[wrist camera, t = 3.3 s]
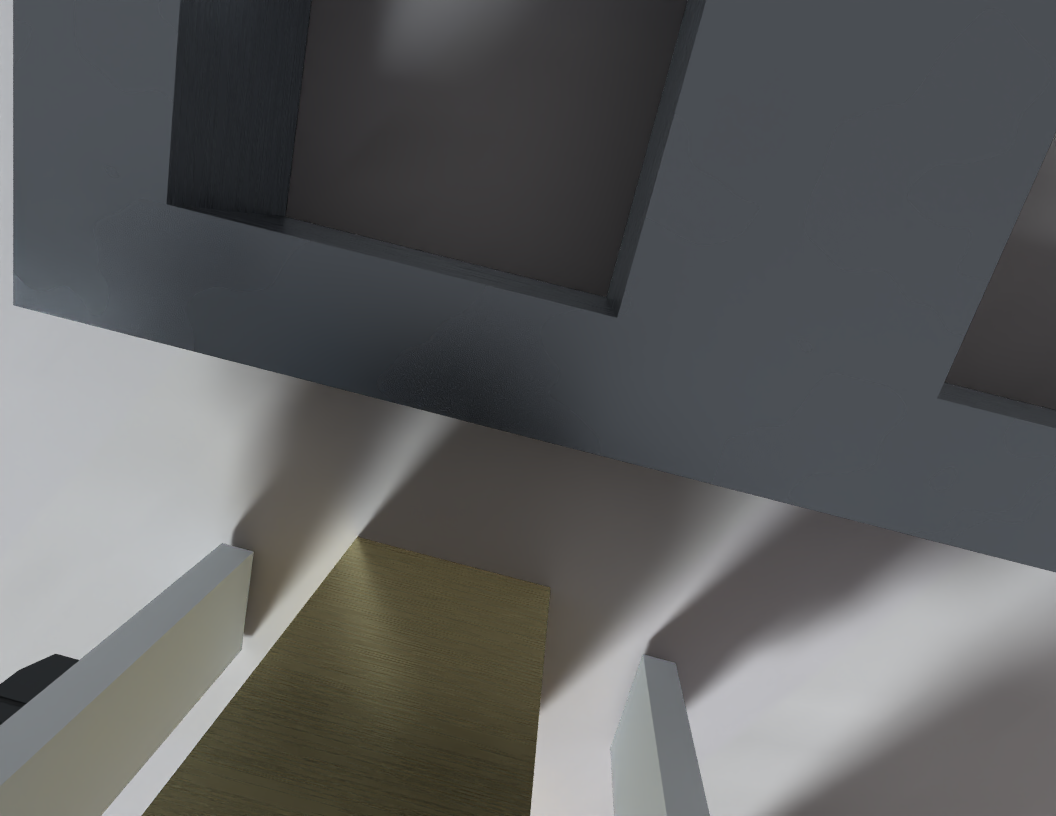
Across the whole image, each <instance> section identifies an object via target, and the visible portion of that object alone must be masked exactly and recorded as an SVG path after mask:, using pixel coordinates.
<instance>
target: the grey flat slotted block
mask: <svg viewBox="0 0 1056 816" xmlns="http://www.w3.org/2000/svg"><path fill="white" fill-rule="evenodd" d="M310 7H311V0H13V305H15V306H19V307H23V308H27V309H31V310H34V311H38V312H42V313H46V314H50V315H54V316H58V317H62V318H66V319H70V320H73V321H77V322H81V323H85V324H89V325H93V326H97V327H101V328H105V329H109V330H112V331H116V332H120V333H124V334H128V335H132V336H136V337H140V338H144V339H148V340H151V341H155V342H159V343H163V344H167V345H171V346H175V347H179V348H183V349H187V350H190V351H194V352H198V353H202V354H206V355H210V356H214V357H218V358H222V359H226V360H229V361H233V362H237V363H241V364H245V365H249V366H253V367H257V368H261V369H265V370H268V371H272V372H276V373H280V374H284V375H288V376H292V377H296V378H300V379H304V380H307V381H311V382H315V383H319V384H323V385H327V386H331V387H335V388H339V389H343V390H347V391H350V392H354V393H358V394H362V395H366V396H370V397H374V398H378V399H382V400H386V401H389V402H393V403H397V404H401V405H405V406H409V407H413V408H417V409H421V410H425V411H428V412H432V413H436V414H440V415H444V416H448V417H452V418H456V419H460V420H464V421H467V422H471V423H475V424H479V425H483V426H487V427H491V428H495V429H499V430H503V431H506V432H510V433H514V434H518V435H522V436H526V437H530V438H534V439H538V440H542V441H545V442H549V443H553V444H557V445H561V446H565V447H569V448H573V449H577V450H581V451H584V452H588V453H592V454H596V455H600V456H604V457H608V458H612V459H616V460H620V461H623V462H627V463H631V464H635V465H639V466H643V467H647V468H651V469H655V470H659V471H662V472H666V473H670V474H674V475H678V476H682V477H686V478H690V479H694V480H698V481H701V482H705V483H709V484H713V485H717V486H721V487H725V488H729V489H733V490H737V491H740V492H744V493H748V494H752V495H756V496H760V497H764V498H768V499H772V500H776V501H779V502H783V503H787V504H791V505H795V506H799V507H803V508H807V509H811V510H815V511H818V512H822V513H826V514H830V515H834V516H838V517H842V518H846V519H850V520H854V521H857V522H861V523H865V524H869V525H873V526H877V527H881V528H885V529H889V530H893V531H897V532H900V533H904V534H908V535H912V536H916V537H920V538H924V539H928V540H932V541H936V542H939V543H943V544H947V545H951V546H955V547H959V548H963V549H967V550H971V551H975V552H978V553H982V554H986V555H990V556H994V557H998V558H1002V559H1006V560H1010V561H1014V562H1017V563H1021V564H1025V565H1029V566H1033V567H1037V568H1041V569H1045V570H1049V571H1053V572H1056V410H1053V409H1049V408H1045V407H1041V406H1037V405H1033V404H1029V403H1025V402H1021V401H1017V400H1013V399H1009V398H1005V397H1001V396H997V395H993V394H989V393H985V392H981V391H977V390H973V389H969V388H965V387H961V386H957V385H953V384H949V383H945V379H946V377H947V375H948V373H949V370H950V368H951V366H952V364H953V362H954V359H955V357H956V355H957V353H958V350H959V348H960V346H961V344H962V341H963V339H964V337H965V335H966V332H967V330H968V328H969V326H970V323H971V321H972V319H973V317H974V315H975V312H976V310H977V308H978V306H979V303H980V301H981V299H982V297H983V294H984V292H985V290H986V288H987V285H988V283H989V281H990V279H991V276H992V274H993V272H994V270H995V267H996V265H997V263H998V261H999V259H1000V256H1001V254H1002V252H1003V250H1004V247H1005V245H1006V243H1007V241H1008V238H1009V236H1010V234H1011V232H1012V229H1013V227H1014V225H1015V223H1016V220H1017V218H1018V216H1019V214H1020V212H1021V209H1022V207H1023V205H1024V203H1025V200H1026V198H1027V196H1028V194H1029V191H1030V189H1031V187H1032V185H1033V182H1034V180H1035V178H1036V176H1037V173H1038V171H1039V169H1040V167H1041V165H1042V162H1043V160H1044V158H1045V156H1046V153H1047V151H1048V149H1049V147H1050V144H1051V142H1052V140H1053V138H1054V135H1055V133H1056V0H688V1H687V5H686V9H685V12H684V16H683V20H682V23H681V27H680V31H679V34H678V38H677V42H676V45H675V49H674V53H673V56H672V60H671V63H670V67H669V71H668V74H667V78H666V82H665V85H664V89H663V93H662V96H661V100H660V104H659V107H658V111H657V115H656V118H655V122H654V126H653V129H652V133H651V137H650V140H649V144H648V148H647V151H646V155H645V159H644V162H643V166H642V170H641V173H640V177H639V181H638V184H637V188H636V192H635V195H634V199H633V202H632V206H631V210H630V213H629V217H628V221H627V224H626V228H625V232H624V235H623V239H622V243H621V246H620V250H619V254H618V257H617V261H616V265H615V268H614V272H613V276H612V279H611V283H610V287H609V290H608V294H607V297H603V296H599V295H595V294H591V293H587V292H583V291H579V290H575V289H571V288H567V287H563V286H559V285H555V284H551V283H547V282H543V281H539V280H535V279H531V278H527V277H523V276H519V275H515V274H511V273H507V272H503V271H499V270H495V269H491V268H487V267H483V266H479V265H475V264H471V263H467V262H463V261H459V260H455V259H452V258H448V257H444V256H440V255H436V254H432V253H428V252H424V251H420V250H416V249H412V248H408V247H404V246H400V245H396V244H392V243H388V242H384V241H380V240H376V239H372V238H368V237H364V236H360V235H356V234H352V233H348V232H344V231H340V230H336V229H332V228H328V227H324V226H320V225H316V224H312V223H308V222H304V221H300V220H296V219H292V218H288V217H285V214H286V206H287V198H288V189H289V181H290V173H291V165H292V156H293V148H294V140H295V131H296V123H297V115H298V106H299V98H300V90H301V82H302V73H303V65H304V57H305V48H306V40H307V32H308V24H309V15H310Z"/></svg>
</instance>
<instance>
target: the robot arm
mask: <svg viewBox="0 0 1056 816" xmlns="http://www.w3.org/2000/svg"><path fill="white" fill-rule="evenodd" d="M253 553H254V552H253V551H250V550H246V549H242V548H238V547H234V546H231V545H227V544H223V543H222V544H221V545H219V546H218V547H217V548H216V549H214V550H213V551H212V552H211V553H210V554H208V555H207V556H206V557H205V558H203V559H202V560H201V561H200V562H199V563H197V564H196V565H195V566H194V567H193V568H191V569H190V570H189V571H188V572H186V573H185V574H184V575H183V576H182V577H180V578H179V579H178V580H177V581H175V582H174V583H173V584H172V585H171V586H169V587H168V588H167V589H166V590H164V591H163V592H162V593H161V594H160V595H158V596H157V597H156V598H155V599H154V600H152V601H151V602H150V603H149V604H147V605H146V606H145V607H144V608H143V609H141V610H140V611H139V612H138V613H136V614H135V615H134V616H133V617H132V618H130V619H129V620H128V621H127V622H126V623H124V624H123V625H122V626H121V627H119V628H118V629H117V630H116V631H115V632H113V633H112V634H111V635H110V636H108V637H107V638H106V639H105V640H104V641H102V642H101V643H100V644H99V645H97V646H96V647H95V648H94V649H93V650H91V651H90V652H89V653H88V654H87V655H85V656H84V657H83V658H82V659H80V660H77V659H73V658H69V657H66V656H62V655H58V654H54V655H52V656H50V657H47V658H45V659H43V660H41V661H38V662H36V663H34V664H32V665H29V666H27V667H25V668H23V669H21V670H19V671H17V672H16V673H15V674H13V675H12V676H11V677H9V678H8V679H7V680H5V681H4V682H3V683H1V684H0V816H101V815H102V814H103V813H104V811H105V810H106V809H107V808H108V807H109V806H110V804H111V803H112V802H113V801H114V800H115V798H116V797H117V796H118V795H119V794H120V793H121V791H122V790H123V789H124V788H125V787H126V785H127V784H128V783H129V782H130V781H131V780H132V778H133V777H134V776H135V775H136V774H137V772H138V771H139V770H140V769H141V768H142V767H143V765H144V764H145V763H146V762H147V761H148V759H149V758H150V757H151V756H152V755H153V754H154V752H155V751H156V750H157V749H158V748H159V746H160V745H161V744H162V743H163V742H164V741H165V739H166V738H167V737H168V736H169V735H170V734H171V732H172V731H173V730H174V729H175V728H176V726H177V725H178V724H179V723H180V722H181V721H182V719H183V718H184V717H185V716H186V715H187V713H188V712H189V711H190V710H191V709H192V708H193V706H194V705H195V704H196V703H197V702H198V700H199V699H200V698H201V697H202V696H203V695H204V693H205V692H206V691H207V690H208V689H209V687H210V686H211V685H212V684H213V683H214V682H215V680H216V679H217V678H218V677H219V676H220V674H221V673H222V672H223V671H224V670H225V669H226V667H227V666H228V665H229V664H230V663H231V661H232V660H233V659H234V658H235V657H236V656H237V654H238V653H239V652H240V651H241V650H242V642H243V634H244V626H245V618H246V610H247V602H248V594H249V586H250V578H251V570H252V561H253ZM610 751H611V770H612V788H613V806H614V816H710V814H709V810H708V805H707V801H706V796H705V792H704V788H703V783H702V779H701V774H700V770H699V765H698V761H697V756H696V752H695V747H694V743H693V738H692V734H691V729H690V725H689V720H688V716H687V711H686V707H685V703H684V698H683V694H682V689H681V685H680V680H679V676H678V671H677V667H676V663H674V662H670V661H667V660H663V659H659V658H655V657H651V656H648V655H644V654H643V656H642V658H641V661H640V664H639V667H638V670H637V673H636V676H635V679H634V682H633V684H632V687H631V690H630V693H629V696H628V699H627V702H626V705H625V708H624V710H623V713H622V716H621V719H620V722H619V725H618V728H617V731H616V734H615V736H614V739H613V742H612V745H611V748H610Z"/></svg>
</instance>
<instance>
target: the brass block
mask: <svg viewBox="0 0 1056 816" xmlns="http://www.w3.org/2000/svg"><path fill="white" fill-rule="evenodd" d="M549 597H550V587H546V586H542V585H538V584H535V583H531V582H527V581H523V580H519V579H516V578H512V577H508V576H504V575H500V574H496V573H493V572H489V571H485V570H481V569H477V568H474V567H470V566H466V565H462V564H458V563H455V562H451V561H447V560H443V559H439V558H435V557H432V556H428V555H424V554H420V553H416V552H413V551H409V550H405V549H401V548H397V547H394V546H390V545H386V544H382V543H378V542H374V541H371V540H367V539H363V538H359V537H357V538H356V539H355V541H354V542H353V543H352V545H351V546H350V547H349V548H348V550H347V551H346V552H345V554H344V555H343V556H342V557H341V559H340V560H339V561H338V563H337V564H336V565H335V567H334V568H333V569H332V570H331V572H330V573H329V574H328V576H327V577H326V578H325V579H324V581H323V582H322V583H321V585H320V586H319V587H318V588H317V590H316V591H315V592H314V594H313V595H312V596H311V598H310V599H309V600H308V601H307V603H306V604H305V605H304V607H303V608H302V609H301V610H300V612H299V613H298V614H297V616H296V617H295V618H294V619H293V621H292V622H291V623H290V625H289V626H288V627H287V629H286V630H285V631H284V632H283V634H282V635H281V636H280V638H279V639H278V640H277V641H276V643H275V644H274V645H273V647H272V648H271V649H270V650H269V652H268V653H267V654H266V656H265V657H264V658H263V660H262V661H261V662H260V663H259V665H258V666H257V667H256V669H255V670H254V671H253V672H252V674H251V675H250V676H249V678H248V679H247V680H246V682H245V683H244V684H243V685H242V687H241V688H240V689H239V691H238V692H237V693H236V694H235V696H234V697H233V698H232V700H231V701H230V702H229V703H228V705H227V706H226V707H225V709H224V710H223V711H222V713H221V714H220V715H219V716H218V718H217V719H216V720H215V722H214V723H213V724H212V725H211V727H210V728H209V729H208V731H207V732H206V733H205V734H204V736H203V737H202V738H201V740H200V741H199V742H198V744H197V745H196V746H195V747H194V749H193V750H192V751H191V753H190V754H189V755H188V756H187V758H186V759H185V760H184V762H183V763H182V764H181V765H180V767H179V768H178V769H177V771H176V772H175V773H174V775H173V776H172V777H171V778H170V780H169V781H168V782H167V784H166V785H165V786H164V787H163V789H162V790H161V791H160V793H159V794H158V795H157V796H156V798H155V799H154V800H153V802H152V803H151V804H150V806H149V807H148V808H147V809H146V811H145V812H144V813H143V815H142V816H530V809H531V798H532V787H533V776H534V765H535V754H536V742H537V731H538V720H539V709H540V698H541V686H542V675H543V664H544V653H545V642H546V630H547V619H548V608H549Z"/></svg>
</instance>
